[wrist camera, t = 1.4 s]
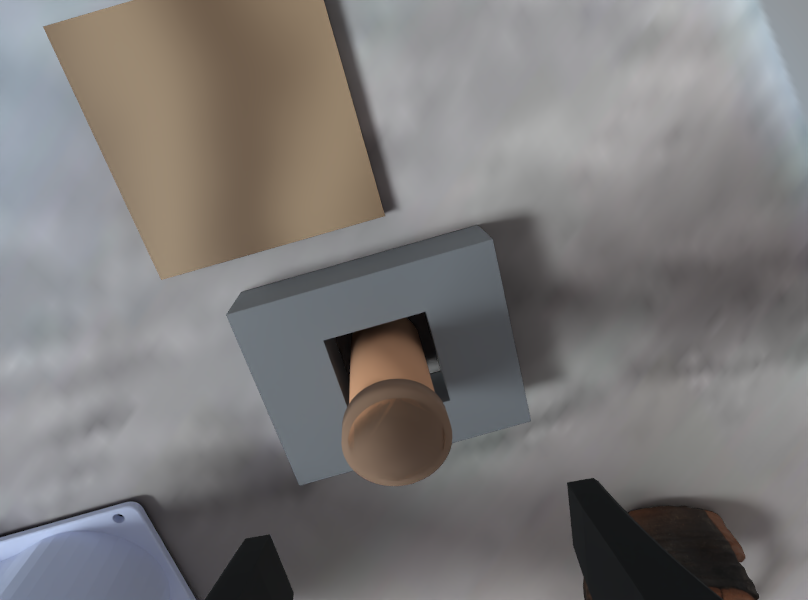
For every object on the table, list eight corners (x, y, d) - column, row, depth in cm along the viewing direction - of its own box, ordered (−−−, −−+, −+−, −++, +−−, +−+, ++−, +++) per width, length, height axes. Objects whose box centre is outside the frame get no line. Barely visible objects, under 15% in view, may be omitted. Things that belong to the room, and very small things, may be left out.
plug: (359, 387, 23) (360, 498, 16) (336, 320, 22) (326, 409, 15) (432, 366, 23) (463, 469, 16) (413, 298, 22) (437, 378, 15)
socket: (305, 448, 24) (299, 485, 21) (241, 292, 21) (226, 314, 18) (513, 390, 23) (531, 420, 21) (477, 224, 21) (492, 239, 18)
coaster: (166, 275, 20) (161, 279, 20) (53, 29, 17) (43, 26, 17) (384, 213, 20) (385, 215, 20) (310, -46, 17) (308, -52, 16)
